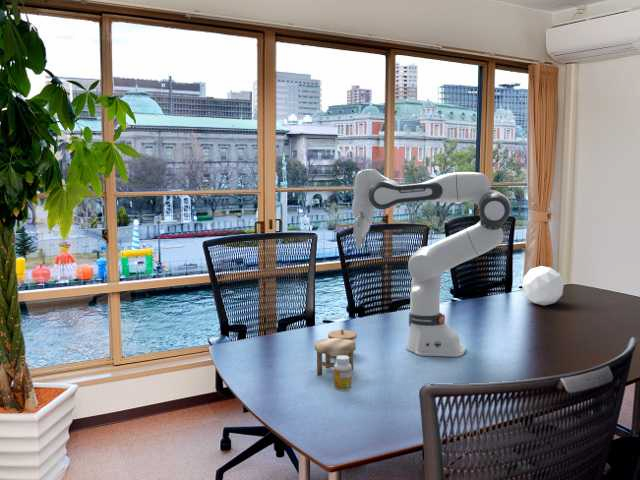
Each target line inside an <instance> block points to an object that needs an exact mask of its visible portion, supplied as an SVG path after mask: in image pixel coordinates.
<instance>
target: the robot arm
mask: <svg viewBox="0 0 640 480" xmlns="http://www.w3.org/2000/svg"><path fill="white" fill-rule="evenodd" d="M424 201H425V202H426V201H428V202H435V203H436V202H438V203H449V204H451V203H452V204H454V203H467V202H468V203H474V204H476V205H477V206H478V213H479V219H480V220H479V221H478V222H477V223H475V224H474V225H471V226H468V227H467V228H464V229H463V230H460V231H458V232H455V233H452V234H450V235H448V236H446V237H445V238H442V239H441V240H439V241H436V242H435V243H433V244H430V245H429V246H428V245H426V246H422V247H420V248H418V249H417V250H416V251H415V252H414V253H413V254H412V255H410V258H409V259H408V263H407V265H408V266H407V268H408V271H409V274H410V276H412V278H411V287H410V292H409V293H410V298H409V299H410V303H409V305H410V310H409V313H408V327H409V330H408V331H409V332H408V335H407V336H408V337H407V341H406V345H405V349H406V350H407V351H408V352H409V351H410V352H412V353H414V354H415V355H417V356H423V357H424V356H425V357H426V356H427V357H455V358H457V357H458V358H459V357H461V356H463V355H464V354H465V353H466V350H467V348H466V346H465V345H464V344H463V343H460V342H461V341H460V336H459V334H458V332H457V331H456V330H454V329H453V328H452V327H451V326H449V325H448V324H447V323H446V321H445V320H446V317H445V316H446V315H445V313H444V314H443V313H442V312H440V305H441V304H440V303H441V302H440V301H441V299H440V296H441V284H442V283H441V280H442V274H443V273H445V272H447V271H449V270H450V269H452V268H453V269H454V268H455V267H457V266H459V265H460V264H463V263H465V262H467V261H470V260H472V259H474V258H477V257H479V256H481V255H484V254H485V253H488V252H489V251H492V250H493V249H494V248H496V247H498V246H499V245H500V244H501V243H502V242H503V241H504V231H503V229H502V227H503V226H504V224H505V222H506V221H507V219H509V217H510V215H511V211H512V203H511V201H510V199H509V197H508V196H507V195H506V194H505V193H503V192H502V191H499V190H497V189H495V188H492V187H491V186H490V180H489V178H488V177H487V175H486V174H484V173H482V172H474V171H458V172H450V173H449V172H448V173H445V174H440V175H437V176H435V177H433V178H432V179H429V180H426V181H424V182H420V183H419V182H418V183H412V184H401V185H400V183H398V182H397V181H395V180H393V179H390V178H388V177H386V176H384V175H383V174H381V173H380V172H379V171H378V170H377V169H374V168H373V169H372V168H369V169H360V171H357V173H356V174H355V179H354V183H353V199H352V204H351V205H352V206H351V215H352V216H354V224H353V232H352V237H353V239H355V249H357V250H360V249H361V247H362V245H364V244H365V243H366V242H365V241H366V235H367V233H368V232H369V231H370V228H371V224H372V219H373V218H374V217H375V214H376V213H375V212H376V209H378V210H386V209H389V208H391V207H393V206H395V205H396V204H401V203H412V202H424Z"/></svg>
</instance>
